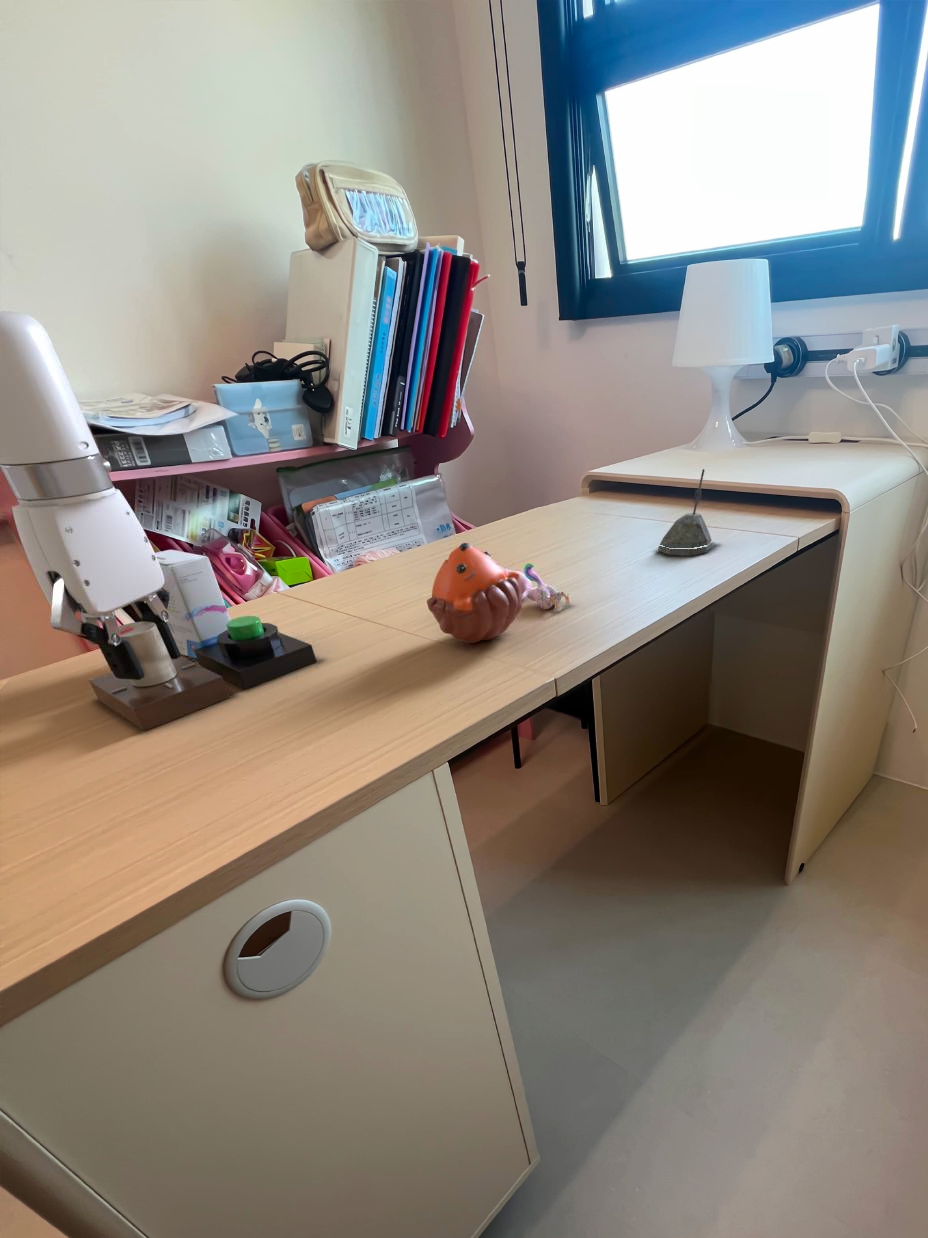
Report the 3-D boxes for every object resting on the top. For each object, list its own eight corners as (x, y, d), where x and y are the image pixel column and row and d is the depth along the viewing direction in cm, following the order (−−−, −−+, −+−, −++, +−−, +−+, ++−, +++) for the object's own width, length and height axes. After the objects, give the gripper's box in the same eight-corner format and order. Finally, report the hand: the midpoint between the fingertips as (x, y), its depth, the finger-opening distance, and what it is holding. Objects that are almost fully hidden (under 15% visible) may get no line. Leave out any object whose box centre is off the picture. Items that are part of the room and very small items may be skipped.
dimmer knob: (152, 668, 72) (128, 617, 69) (186, 670, 71) (164, 619, 68) (121, 685, 69) (94, 633, 65) (157, 687, 68) (131, 634, 65)
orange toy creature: (477, 616, 89) (464, 529, 82) (541, 627, 85) (533, 535, 78) (419, 648, 81) (399, 553, 74) (487, 661, 76) (472, 562, 70)
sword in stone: (687, 559, 107) (691, 480, 100) (651, 551, 112) (652, 475, 105) (724, 546, 113) (729, 470, 106) (688, 539, 117) (691, 466, 110)
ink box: (245, 649, 82) (209, 553, 76) (208, 663, 79) (167, 565, 72) (207, 638, 86) (169, 546, 80) (170, 651, 83) (128, 556, 76)
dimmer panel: (99, 700, 72) (87, 678, 70) (181, 671, 77) (172, 650, 76) (144, 731, 66) (132, 707, 64) (230, 697, 71) (221, 675, 70)
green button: (225, 637, 76) (220, 622, 75) (254, 627, 78) (249, 613, 77) (241, 643, 74) (235, 628, 73) (270, 633, 76) (265, 619, 75)
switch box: (200, 666, 78) (187, 635, 76) (269, 642, 84) (259, 612, 82) (245, 689, 73) (232, 656, 70) (317, 661, 78) (307, 629, 76)
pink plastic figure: (575, 611, 93) (498, 579, 99) (579, 571, 89) (498, 539, 95) (548, 625, 89) (468, 590, 95) (550, 583, 85) (467, 550, 91)
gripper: (102, 465, 66) (176, 636, 77) (-66, 500, 53) (52, 701, 63) (165, 464, 65) (231, 638, 75) (8, 500, 51) (116, 706, 62)
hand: (149, 665), depth 69 cm, fingers closed on dimmer knob, 4 cm apart
